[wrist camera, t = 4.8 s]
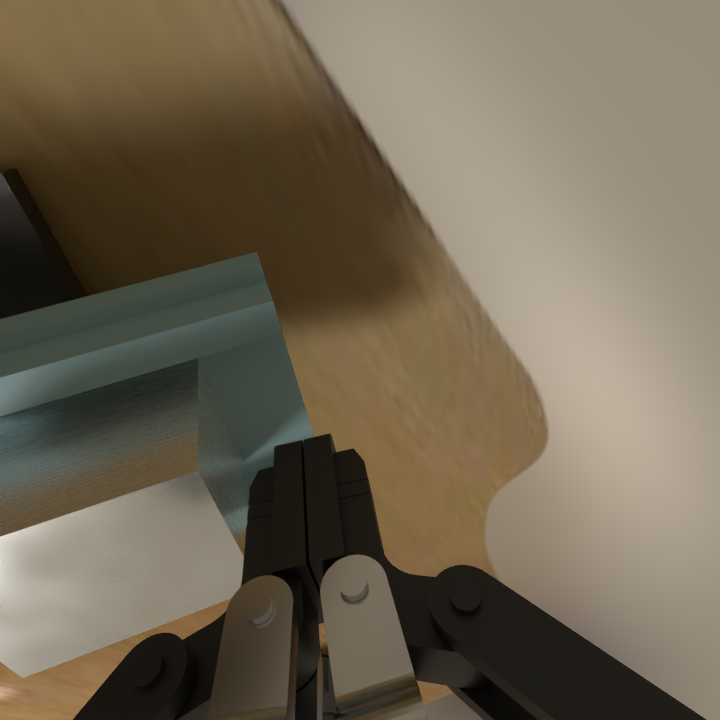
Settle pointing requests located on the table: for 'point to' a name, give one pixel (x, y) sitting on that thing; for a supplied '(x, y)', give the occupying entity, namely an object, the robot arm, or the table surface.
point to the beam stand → (29, 254)
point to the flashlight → (327, 691)
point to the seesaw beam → (166, 349)
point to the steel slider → (116, 515)
